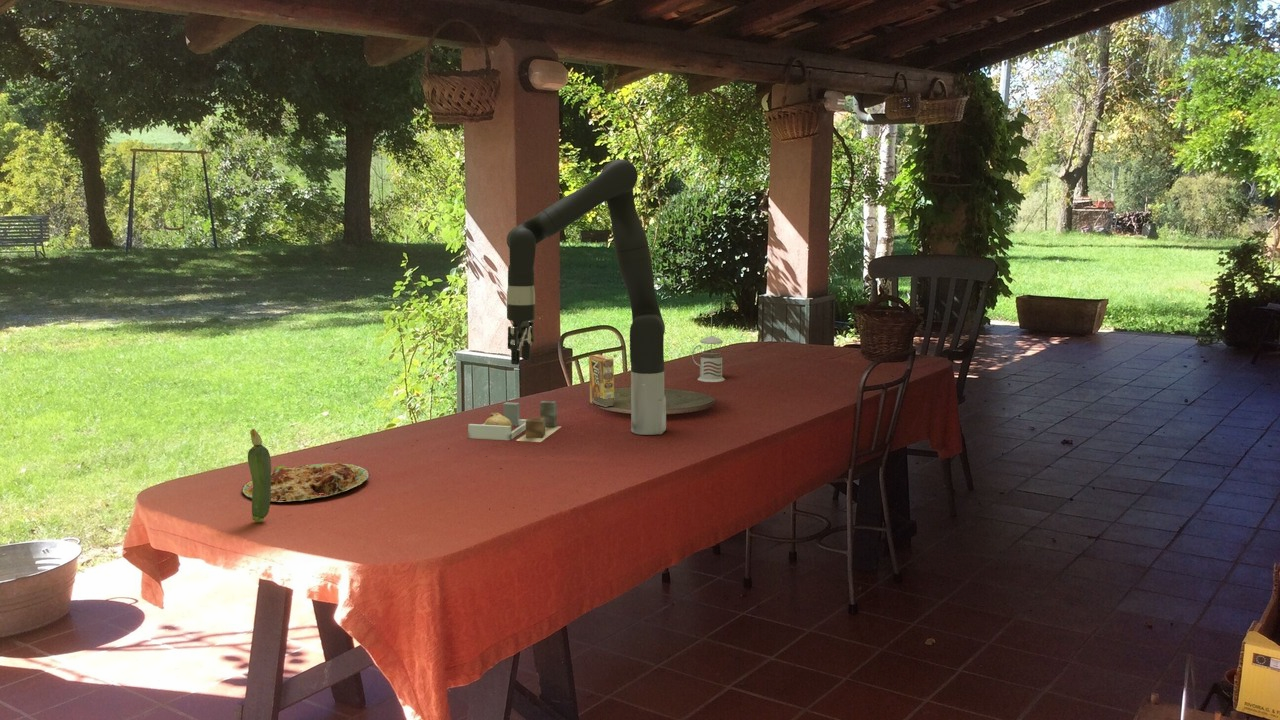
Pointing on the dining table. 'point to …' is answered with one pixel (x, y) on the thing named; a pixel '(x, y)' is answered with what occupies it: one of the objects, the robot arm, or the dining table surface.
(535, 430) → the walnut cube
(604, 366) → the candy box
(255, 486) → the vegetable
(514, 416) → the grey rectangular frame
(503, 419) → the onion
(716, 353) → the french press
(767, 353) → the dining table surface
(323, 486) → the rice dish
